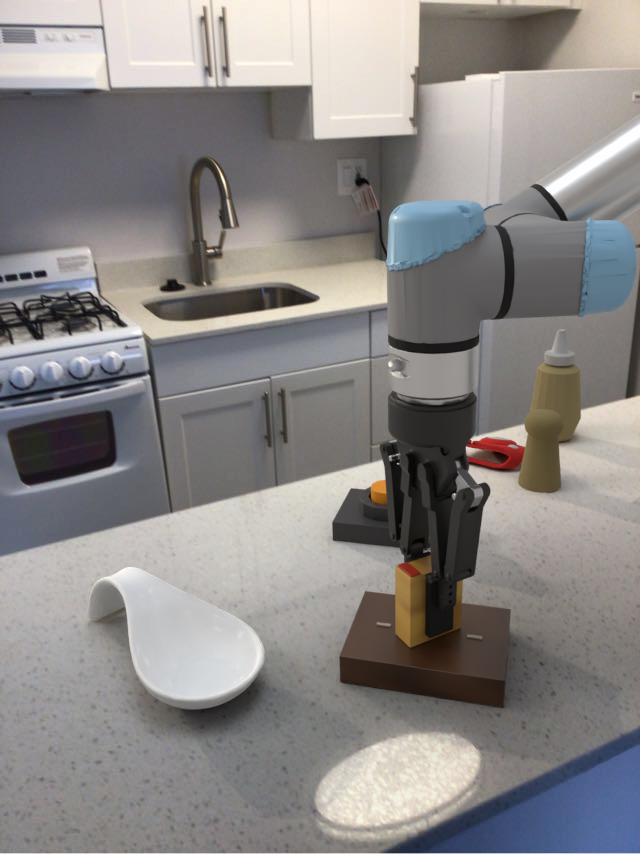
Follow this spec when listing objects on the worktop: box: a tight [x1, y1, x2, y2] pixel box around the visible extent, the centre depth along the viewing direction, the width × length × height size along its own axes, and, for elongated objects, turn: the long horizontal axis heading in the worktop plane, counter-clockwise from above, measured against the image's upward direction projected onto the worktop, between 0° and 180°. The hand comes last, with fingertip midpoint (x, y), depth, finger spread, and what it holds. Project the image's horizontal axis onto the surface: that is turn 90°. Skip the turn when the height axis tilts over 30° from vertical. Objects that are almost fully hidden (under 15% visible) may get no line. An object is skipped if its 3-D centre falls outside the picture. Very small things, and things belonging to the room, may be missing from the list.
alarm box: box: [331, 486, 430, 552], centre depth 98 cm, size 12×10×4 cm
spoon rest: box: [87, 566, 266, 710], centre depth 74 cm, size 24×12×7 cm, turn 46°
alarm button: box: [370, 479, 387, 504], centre depth 97 cm, size 4×4×2 cm
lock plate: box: [338, 590, 512, 709], centre depth 74 cm, size 15×11×3 cm
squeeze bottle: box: [529, 328, 582, 443], centre depth 122 cm, size 8×8×18 cm
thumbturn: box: [394, 555, 464, 648], centre depth 72 cm, size 6×2×8 cm, turn 118°
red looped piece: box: [466, 436, 525, 470], centre depth 117 cm, size 12×4×10 cm
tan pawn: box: [517, 409, 563, 494], centre depth 107 cm, size 6×6×11 cm
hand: (428, 622), depth 73 cm, fingers closed on thumbturn, 2 cm apart
